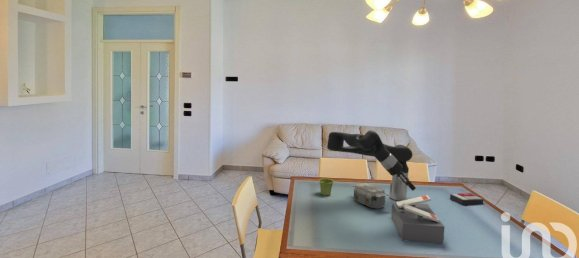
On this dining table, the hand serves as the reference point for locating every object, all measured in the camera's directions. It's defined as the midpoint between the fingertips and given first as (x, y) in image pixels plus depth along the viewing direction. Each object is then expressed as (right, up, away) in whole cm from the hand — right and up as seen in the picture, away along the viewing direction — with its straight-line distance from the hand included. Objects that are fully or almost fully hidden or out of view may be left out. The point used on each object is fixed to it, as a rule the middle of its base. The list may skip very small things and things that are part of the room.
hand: (414, 189), depth 173 cm
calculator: (+45, -15, +36) cm, 60 cm away
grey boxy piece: (-16, -14, +29) cm, 36 cm away
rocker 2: (-2, -8, -14) cm, 16 cm away
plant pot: (-40, -11, +44) cm, 60 cm away
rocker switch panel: (-1, -19, -5) cm, 19 cm away
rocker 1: (0, -6, +1) cm, 7 cm away
